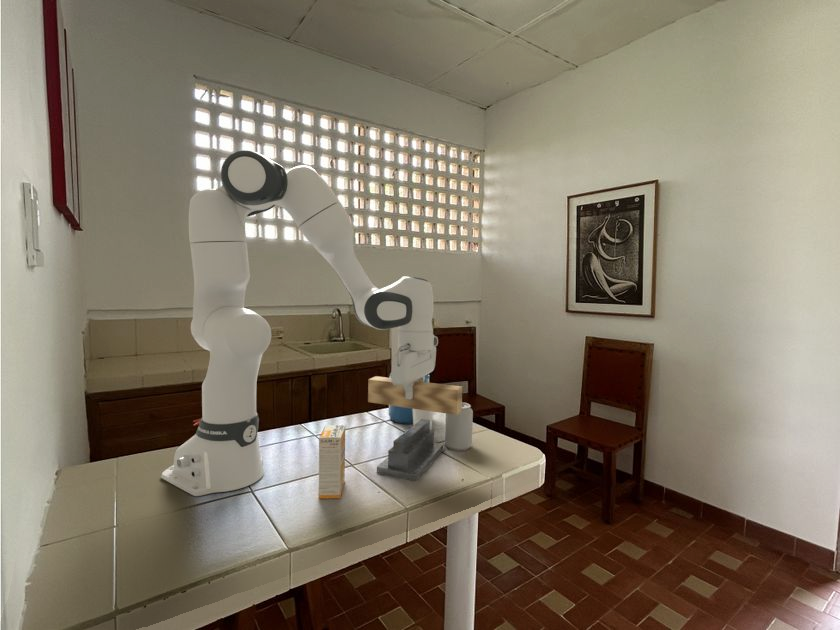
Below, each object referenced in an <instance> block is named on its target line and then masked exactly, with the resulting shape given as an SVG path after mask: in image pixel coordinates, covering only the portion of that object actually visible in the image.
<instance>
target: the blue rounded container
mask: <svg viewBox="0 0 840 630" xmlns="http://www.w3.org/2000/svg"><path fill="white" fill-rule="evenodd" d="M391 377H392V371H391V372H390V373H389V377H388V378H391ZM424 382H429V383H430V373H429V374H427V375H425V380H424ZM388 416H389V418H390V420H391V421H393V422H395V423H398V424H399V423H400V424H406V425H407V424H409V425H413V411H412V408H405V407H398V406H392V405H388Z"/></svg>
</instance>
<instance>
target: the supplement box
mask: <svg viewBox="0 0 840 630" xmlns="http://www.w3.org/2000/svg"><path fill="white" fill-rule="evenodd" d="M345 469H346V425H345V424H327V425H325V426H324V428H323V429H322V431H321V433H320V435H319V437H318V491H317V492H318V499H326V500H327V499H340V498H341V495H342V491H343V486H344V483H345V477H346V476H345V475H346V474H345V472H346V470H345Z"/></svg>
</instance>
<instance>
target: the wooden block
mask: <svg viewBox="0 0 840 630" xmlns="http://www.w3.org/2000/svg"><path fill="white" fill-rule="evenodd" d="M367 385H368V387H367V389H368V390H367V391H368V392H367V402H368V403H373V404H379V405H387V406H389V405H392V406H398V407H405V408H412V409H419V410H426V411H433V413H441V414H445V415H446V414H453V415H457V414H458V413H459V412H460V411H461V410H462V402H463V386H462V385H460V386H459V385H453V384H445V383H436V382H430V381H429V382H420V381H414V382H413V386H412V387H413V391H414V398H413V399H406V397H405V395H406V392H405V389H404V386H396V385H393V384H392V381H391V378H389V377H385V376H378V375H375V376H373V377H371V378H368V384H367Z"/></svg>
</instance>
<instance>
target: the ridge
mask: <svg viewBox="0 0 840 630" xmlns="http://www.w3.org/2000/svg"><path fill="white" fill-rule="evenodd" d="M444 444H445V443H444ZM444 444H443V443H437V442H435V429H430V420H425V419H421V420H420V421H419V422H417V423H416V424H415V425H413V424H412V426H411V427H409V428H408V429H407V430H406V431H404V432H403V433H402V434H401V435H399V437H397V438H395V439H394V440H393V446H392V447H391V448H390V449H388V450H387V452H388V453H387V454H388V455H387V456H388V457H386V458H385V459H384V460H383V461H382V462H381V463H379V464H378V465H377V466H376V474H380V475H386V476H390V477H395V478H399V479H404V480H408V481H413V482H416V481H417V480H418V479H419V478H420V477H421V476H422V475H423V473H424V472H425V471H426V470H427V469H428V468H429V467H430V465H431V464H433V462H434V461H435V460H436V459H437V458H438V457H439V455H440V454H441V453H442V452H443V451H444ZM428 466H429V467H428Z"/></svg>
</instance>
